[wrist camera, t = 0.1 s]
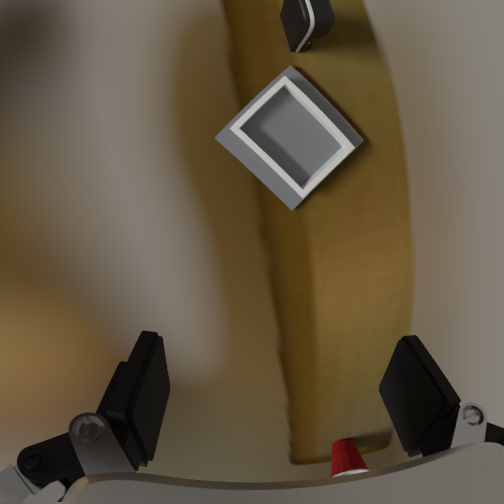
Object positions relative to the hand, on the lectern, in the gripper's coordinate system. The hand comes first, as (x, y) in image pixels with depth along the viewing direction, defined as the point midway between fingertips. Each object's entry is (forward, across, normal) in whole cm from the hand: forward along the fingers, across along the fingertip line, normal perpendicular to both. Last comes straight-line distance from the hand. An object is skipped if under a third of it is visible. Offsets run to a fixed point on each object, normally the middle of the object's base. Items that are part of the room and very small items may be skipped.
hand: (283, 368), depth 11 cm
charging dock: (+31, -4, -9) cm, 33 cm away
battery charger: (+31, -4, -25) cm, 40 cm away
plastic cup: (+31, -26, +60) cm, 73 cm away
